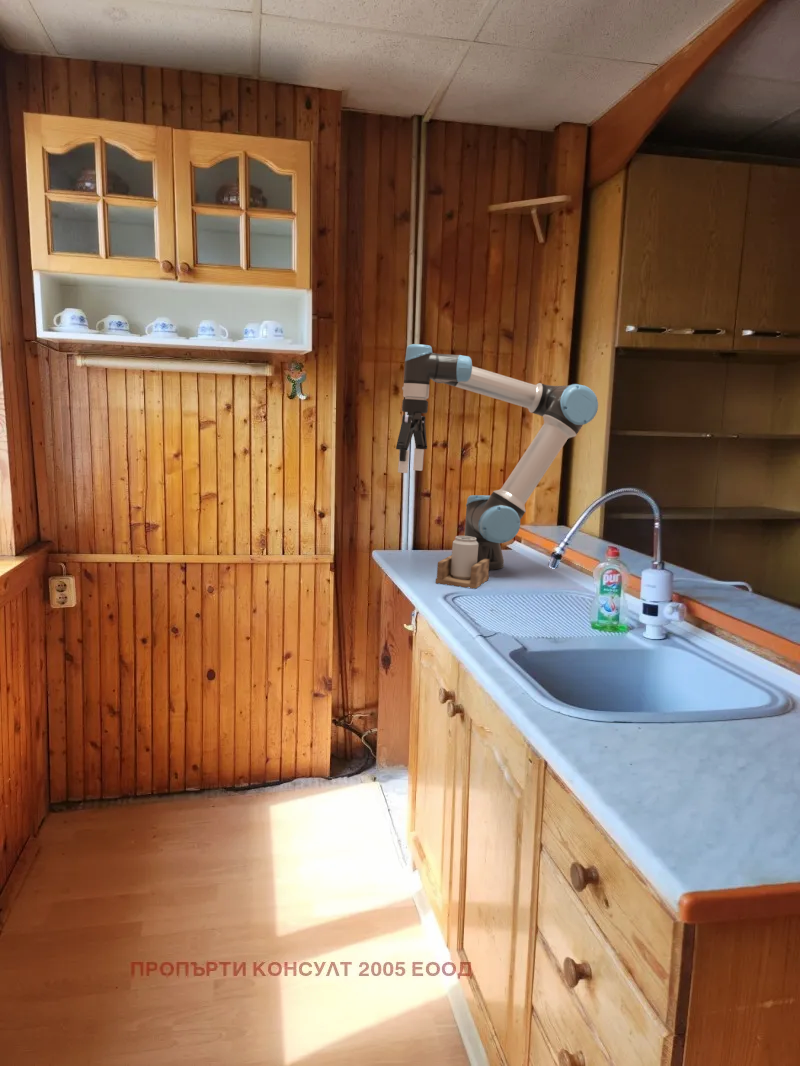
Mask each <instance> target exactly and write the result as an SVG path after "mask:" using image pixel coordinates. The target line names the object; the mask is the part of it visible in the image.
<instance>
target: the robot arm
mask: <svg viewBox="0 0 800 1066" xmlns="http://www.w3.org/2000/svg"><path fill="white" fill-rule="evenodd" d="M405 352H406V353H405V358H404V359H405V360H404V372H403V373H404V376H403V386H402V387H401V389H402V392H403V393H402V396H403V397H404V398H403V400H402V402H401V403H402V405H401V412H403V413H406V414H403V415H402V419H401V426H400V429H399V433H398V434H399V435H398V437H397V442H396V447H395V448H396V450H398V451H399V452H398V467H397V473H402V474H408V472H409V460H410V459H409V458H410V457H409V456H410V450H409V447H410V444H411V442H412V441H411V440H412V438H414V439H413V440H414V443H415V447H416V448H414V455H413V470H412V471H417V472H418V471H420V472H422V471H423V468H424V456H425V455H424V454H425V450H427V449H428V445H427V444H428V443H427V432H426V430H427V428H426V416H425V415H424V416H423V415H422V414H427V413H428V410H429V408H428V407H429V402H428V400H427V399H429V397H430V383H431V382H430V380H432V381H433V382H434V383H437V384H446V385H448V386H451V387H455V388H458V389H461V390H464V391H465V390H466V391H469V392H472V393H475V394H479V395H483V396H485V397H489V398H492V399H496V400H500V401H502V402H506V403H509V404H511V405H512V404H513V405H516V406H519V407H522V408H526V409H528V412H529V413H531V414H534V415H538V416H539V417H540V416H541V417H542V418H543V424H542V426H541V427H540V429H539V430H538V432H537V434H535V436H534V438H533V440H532V441H531V443H530V444H529V445H528V447H527V448H526V450H525V451H524V453H523V455H522V456H521V458H520V459H519V461H518V462H517V464H516V465H515V466H514V469H513V470H512V471H511V473H510V475H509V476H508V477H507V479H506V480H505V482H504V483H503V485H502V486H501V488H500V489H496V490H493V491H492V493H491V494H490V495H486V494H485V495H480V494H478V495H477V494H475V495H473V494H472V495H469V496H468V497H467V499H466V504H465V507H466V508H465V509H466V510H465V523H464V524H465V525H464V536H471V537H475V538H477V539H476V541H477V542H478V557H477V563H478V562H480V561H481V560H483V559H489V570H490V571H491V570H499V569H503V568H504V565H505V559H504V556H503V552H502V546H501V544H505V543H507V542H510V541H512V539H514V538H515V537H516V535H518V533H519V532H520V528H521V519H522V518H523V516H524V515H525V513H526V512H527V511H526V506H525V505H526V503H527V501H528V500H529V498H530V497H531V495H532V494H533V493H534V491H535V490H536V487H538V485H539V483H541V480H542V479H543V478H544V476H545V474H546V472H547V471H548V469H549V468H550V467H551V465H552V464H553V462H554V460H555V459H556V457H557V456H558V454H559V453H560V452H561V450H562V448H563V447H564V446H565V444H566V443H567V440H568V439H571V438H575V437H576V436H577V435H578V433H579V432H580V430H581V429H582V427H583V426H584V425H586V424H588V423H590V422H592V420H593V419H594V418H596V415H597V413H598V410H599V402H598V400H599V399H598V397H597V395H596V393H595V392H594V390H592V389H591V388H590V387H588V386H587V385H584V384H583V385H582V384H578V383H572V384H569V385H567V384H566V385H549V384H544V383H542V382H539V383H537V384H533V383H530V382H526V381H523V380H520V379H517V378H513V377H509V376H507V375H503V374H501V373H496V372H495V371H491V370H487V369H484V368H480V367H477V366H473V362H472V358H471V356H469V355H461V354H448V353H446V354H445V353H436V352H433V348H432V346H431V345H428V344H419V343H418V344H417V343H413V344H409V345H407V346H406V351H405Z"/></svg>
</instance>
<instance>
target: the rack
mask: <svg viewBox="0 0 800 1066" xmlns="http://www.w3.org/2000/svg"><path fill="white" fill-rule="evenodd" d="M451 560H452V554H451V555H449V556H447V557H445V558H443V559H441V560H439V561H437V569H436V571H437V572H436V578H435V584H438V583H440V584H439V585H445V584H447V586H452V585H454V586H453V587H459V586H461V588H466V587H470V588H469V589H473V588H476V589H478V588H479V587H481V586H482V585H483V584H484V582H485V581H486V582H487V581H489V580H488V579H490V575H489V559H483V560H481V561H480V562H478V563H477V564H475V565H473V566H472V567H471V579H458V578H454V577H453V576H452V574H451ZM486 582H485V583H486ZM482 583H483V584H482ZM481 584H482V585H481ZM480 585H481V586H480ZM478 586H479V587H478ZM477 587H478V588H477Z"/></svg>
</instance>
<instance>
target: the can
mask: <svg viewBox="0 0 800 1066" xmlns="http://www.w3.org/2000/svg"><path fill="white" fill-rule="evenodd" d="M476 539H477V538H475V537H471V536H465V535H456V536H455V539H454V540H453V541H452V549H451V555H452V560H451V574H452V576H453V577H454V578H458V579H471V567H472V566H473V565H475V564H477V557H478V542H477V541H476Z"/></svg>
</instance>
